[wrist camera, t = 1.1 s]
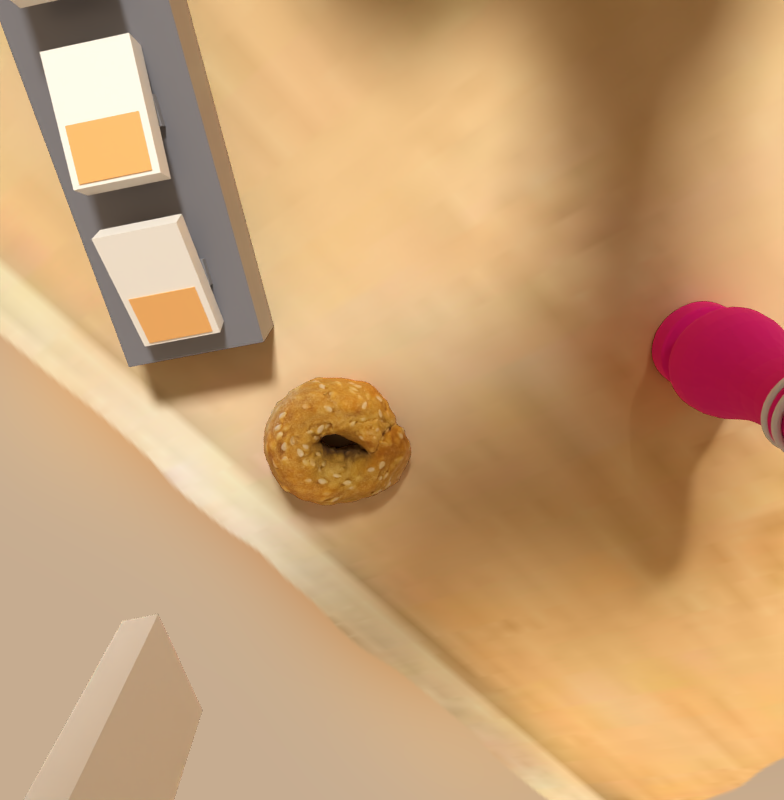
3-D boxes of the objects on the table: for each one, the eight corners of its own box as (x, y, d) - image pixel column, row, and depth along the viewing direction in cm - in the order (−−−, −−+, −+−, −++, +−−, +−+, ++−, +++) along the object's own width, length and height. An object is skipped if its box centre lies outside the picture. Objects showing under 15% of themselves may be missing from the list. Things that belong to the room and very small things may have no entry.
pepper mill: (663, 406, 45) (864, 578, 26) (629, 325, 42) (825, 452, 24) (756, 361, 44) (1035, 508, 25) (727, 274, 41) (1012, 368, 23)
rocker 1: (55, 63, 32) (38, 51, 31) (141, 45, 32) (128, 32, 30) (87, 195, 33) (72, 189, 31) (171, 178, 33) (160, 172, 31)
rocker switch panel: (-24, -142, 32) (-86, -190, 28) (138, -180, 31) (100, -234, 27) (150, 348, 42) (125, 370, 38) (273, 325, 42) (261, 344, 38)
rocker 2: (99, 229, 34) (91, 239, 32) (181, 213, 33) (175, 222, 32) (150, 335, 38) (144, 347, 37) (223, 321, 38) (219, 332, 36)
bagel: (368, 514, 48) (366, 549, 44) (246, 449, 46) (232, 479, 41) (436, 418, 45) (442, 445, 41) (310, 344, 43) (302, 363, 38)
